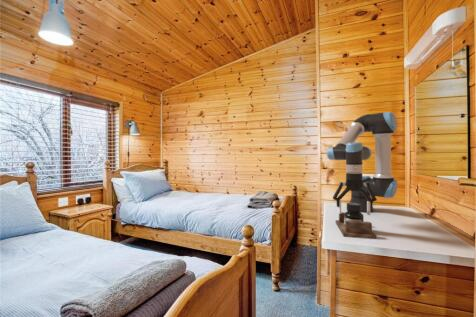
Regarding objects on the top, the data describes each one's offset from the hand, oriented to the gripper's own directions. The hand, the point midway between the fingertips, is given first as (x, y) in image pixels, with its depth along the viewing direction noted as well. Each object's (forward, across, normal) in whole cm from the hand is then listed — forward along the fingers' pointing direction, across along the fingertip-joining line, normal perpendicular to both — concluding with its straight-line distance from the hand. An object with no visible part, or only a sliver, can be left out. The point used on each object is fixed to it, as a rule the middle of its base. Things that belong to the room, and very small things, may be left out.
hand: (354, 213), depth 120 cm
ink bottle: (+7, 0, 0) cm, 7 cm away
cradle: (+8, 0, 0) cm, 8 cm away
